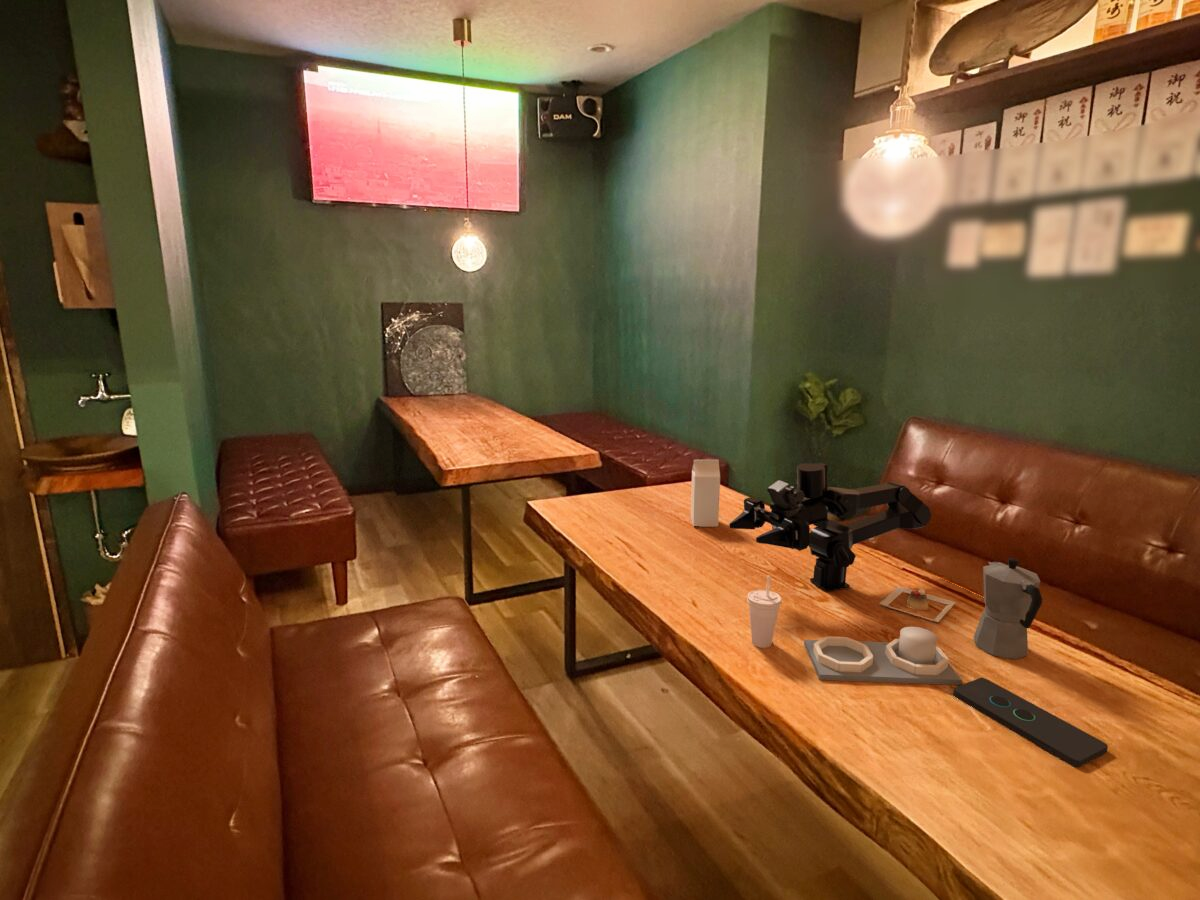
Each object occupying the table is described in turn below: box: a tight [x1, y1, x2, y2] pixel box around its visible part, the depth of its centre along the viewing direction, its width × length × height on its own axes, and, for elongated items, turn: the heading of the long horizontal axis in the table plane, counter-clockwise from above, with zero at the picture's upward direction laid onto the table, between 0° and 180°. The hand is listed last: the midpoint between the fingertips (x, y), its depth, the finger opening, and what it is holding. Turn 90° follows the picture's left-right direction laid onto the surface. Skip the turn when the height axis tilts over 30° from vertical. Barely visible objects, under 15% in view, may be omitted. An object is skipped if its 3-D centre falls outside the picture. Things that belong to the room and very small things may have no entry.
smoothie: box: [746, 574, 782, 649], centre depth 128 cm, size 6×6×14 cm
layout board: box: [803, 626, 963, 686], centre depth 122 cm, size 24×12×6 cm, turn 86°
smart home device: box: [952, 677, 1109, 768], centre depth 106 cm, size 8×2×20 cm
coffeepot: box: [973, 557, 1043, 660], centre depth 125 cm, size 15×9×18 cm, turn 0°
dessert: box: [878, 585, 957, 623], centre depth 144 cm, size 12×12×5 cm
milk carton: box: [690, 459, 721, 528], centre depth 193 cm, size 7×7×19 cm
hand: (742, 532), depth 141 cm, fingers open, 9 cm apart
